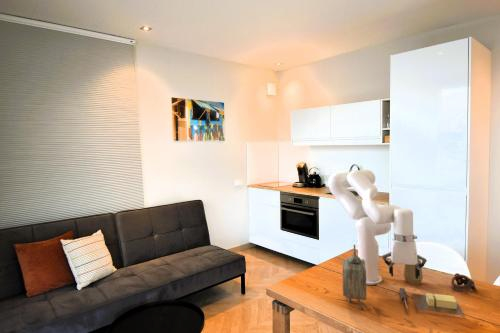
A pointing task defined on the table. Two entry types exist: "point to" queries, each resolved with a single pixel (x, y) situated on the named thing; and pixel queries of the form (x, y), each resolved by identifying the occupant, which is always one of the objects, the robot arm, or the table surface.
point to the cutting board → (423, 305)
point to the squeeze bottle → (412, 274)
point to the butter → (445, 301)
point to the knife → (403, 296)
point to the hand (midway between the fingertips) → (404, 276)
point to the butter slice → (430, 299)
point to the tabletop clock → (354, 278)
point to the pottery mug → (459, 279)
